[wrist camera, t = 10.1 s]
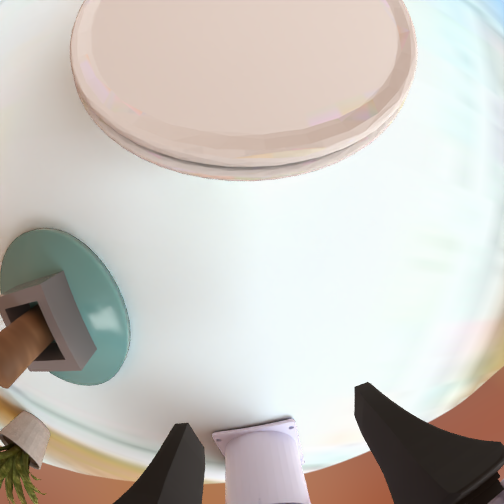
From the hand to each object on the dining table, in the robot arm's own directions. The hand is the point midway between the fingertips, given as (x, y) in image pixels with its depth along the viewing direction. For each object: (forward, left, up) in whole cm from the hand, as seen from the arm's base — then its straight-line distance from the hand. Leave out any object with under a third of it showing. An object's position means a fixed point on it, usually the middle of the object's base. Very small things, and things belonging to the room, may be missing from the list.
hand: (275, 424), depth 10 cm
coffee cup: (+14, -2, -10) cm, 17 cm away
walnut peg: (+4, +16, -8) cm, 19 cm away
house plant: (-11, +35, -10) cm, 38 cm away
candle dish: (+4, +16, -9) cm, 19 cm away
